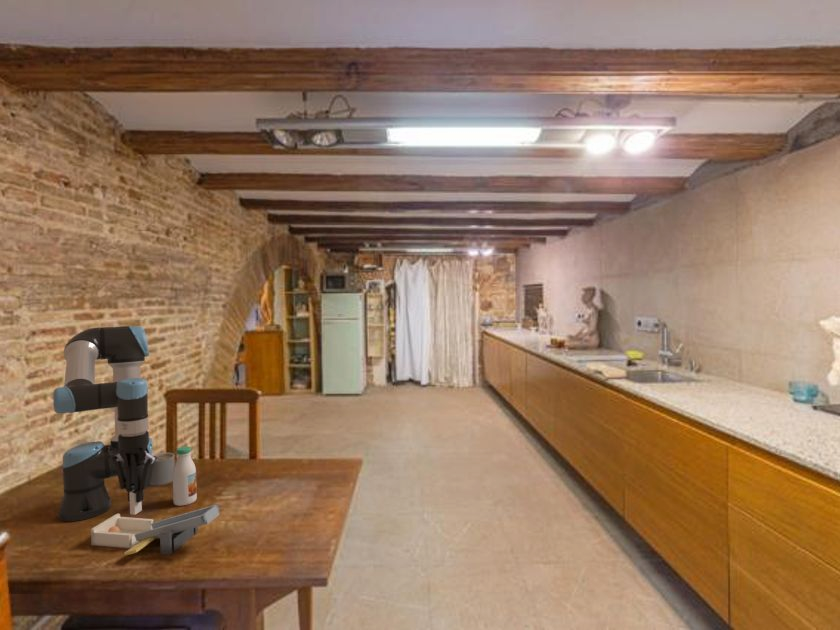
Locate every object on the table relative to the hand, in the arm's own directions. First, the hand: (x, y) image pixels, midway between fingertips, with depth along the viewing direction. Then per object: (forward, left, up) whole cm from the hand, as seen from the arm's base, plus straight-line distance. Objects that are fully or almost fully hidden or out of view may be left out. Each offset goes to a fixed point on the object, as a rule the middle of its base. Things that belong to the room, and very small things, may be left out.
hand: (136, 512), depth 133 cm
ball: (-15, +8, -11) cm, 20 cm away
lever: (+8, +5, -8) cm, 13 cm away
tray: (-12, +8, -13) cm, 19 cm away
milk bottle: (-9, +34, -13) cm, 37 cm away
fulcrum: (+8, +8, -13) cm, 17 cm away
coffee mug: (-33, +50, -13) cm, 61 cm away
